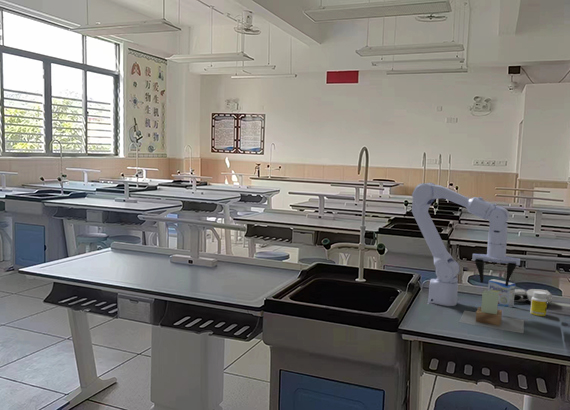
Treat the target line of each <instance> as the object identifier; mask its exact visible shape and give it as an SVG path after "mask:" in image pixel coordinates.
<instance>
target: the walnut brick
mask: <svg viewBox="0 0 570 410" xmlns="http://www.w3.org/2000/svg"><path fill="white" fill-rule="evenodd" d="M475 312H476V322H480V323H486V324H492V325H498V326H500V323H501V317H503V316H502V315H503V309H497V314H491V313H484V312H481V306H478V307H477V310H476V311H475Z"/></svg>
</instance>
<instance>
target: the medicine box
mask: <svg viewBox="0 0 570 410" xmlns="http://www.w3.org/2000/svg"><path fill="white" fill-rule="evenodd" d="M505 284H506V280H500V279H495V278H493V279H489V280H488V287H487V290H488V291H495V292H499V296H498V307H504V308H510V309H511V308H514V302H515V300H514V295H515V289H516V283H515V282H514V283H513V282H510V281H509V282H508V286H505Z"/></svg>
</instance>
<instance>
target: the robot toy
mask: <svg viewBox="0 0 570 410" xmlns="http://www.w3.org/2000/svg"><path fill="white" fill-rule="evenodd" d="M533 291H542V292H545V293H547V297H546V299H547V302H550V303H551V302H552V301H553V297H552V296H553V293H551V292H549V290H548V289H538V288H537V289H535V288H530V289H528V290H527V291H526V290H525V289H519V288H518V289H517V288H515V295H514V302H517V303H518V302H519V303H520V302H526V301H527V300H528V301H529V303H531V298H532V297H533Z"/></svg>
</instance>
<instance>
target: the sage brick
mask: <svg viewBox="0 0 570 410" xmlns="http://www.w3.org/2000/svg"><path fill="white" fill-rule="evenodd" d="M481 294H482V295H481V296H482V297H481V306H480V307H481V312H484V313H491V314H497V310H499V308H498V307H499V306H498V296H499V292H495V291H488V289H487V290H486V289H483V291H482V293H481Z"/></svg>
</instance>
